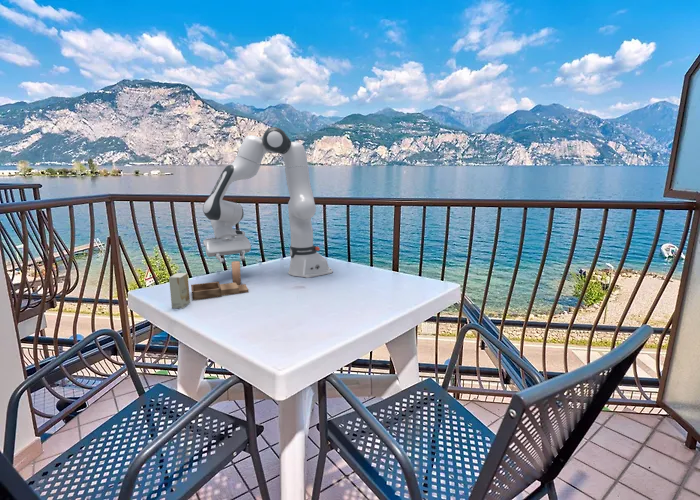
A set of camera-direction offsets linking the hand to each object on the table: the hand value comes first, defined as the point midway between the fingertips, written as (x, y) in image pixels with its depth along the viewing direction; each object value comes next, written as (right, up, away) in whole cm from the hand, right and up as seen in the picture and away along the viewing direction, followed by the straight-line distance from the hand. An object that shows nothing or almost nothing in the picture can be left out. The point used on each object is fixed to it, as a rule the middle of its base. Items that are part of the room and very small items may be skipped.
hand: (232, 261), depth 161 cm
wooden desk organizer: (-1, -13, -12) cm, 18 cm away
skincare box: (-11, -16, -26) cm, 33 cm away
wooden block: (+2, -10, -1) cm, 11 cm away
